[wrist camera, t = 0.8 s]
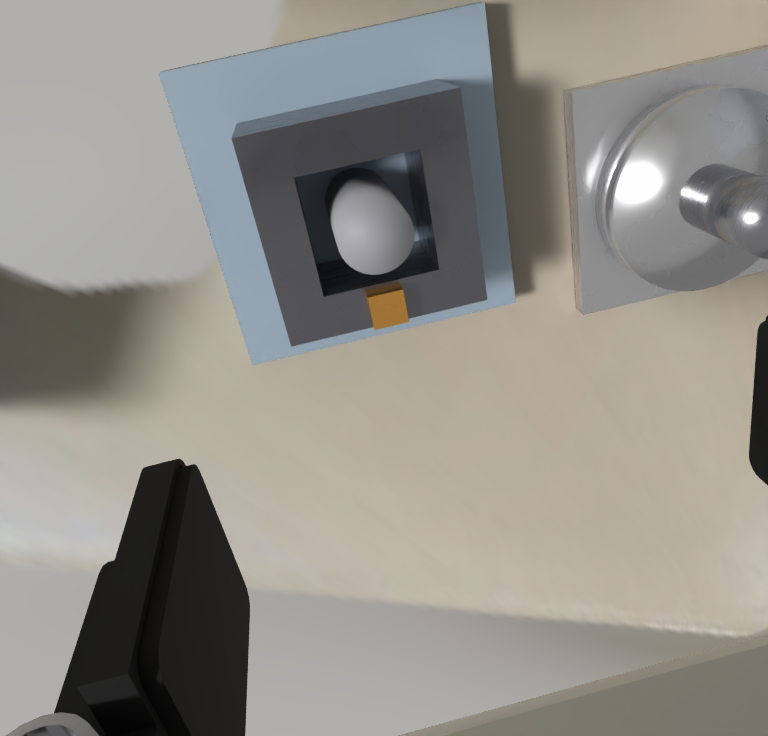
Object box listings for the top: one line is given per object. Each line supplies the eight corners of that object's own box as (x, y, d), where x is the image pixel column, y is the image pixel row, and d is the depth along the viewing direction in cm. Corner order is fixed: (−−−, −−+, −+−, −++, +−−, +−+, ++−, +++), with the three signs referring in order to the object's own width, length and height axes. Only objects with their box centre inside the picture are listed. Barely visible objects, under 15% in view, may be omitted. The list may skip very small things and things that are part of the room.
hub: (563, 90, 25) (648, 109, 20) (789, 39, 26) (937, 44, 20) (575, 307, 29) (648, 374, 24) (770, 261, 30) (886, 316, 24)
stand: (163, 70, 23) (131, 84, 18) (474, 3, 23) (535, -4, 18) (253, 352, 28) (249, 428, 23) (506, 292, 29) (560, 352, 23)
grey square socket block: (236, 123, 23) (230, 141, 19) (435, 79, 23) (466, 88, 20) (288, 308, 26) (291, 354, 23) (462, 268, 26) (492, 306, 23)
